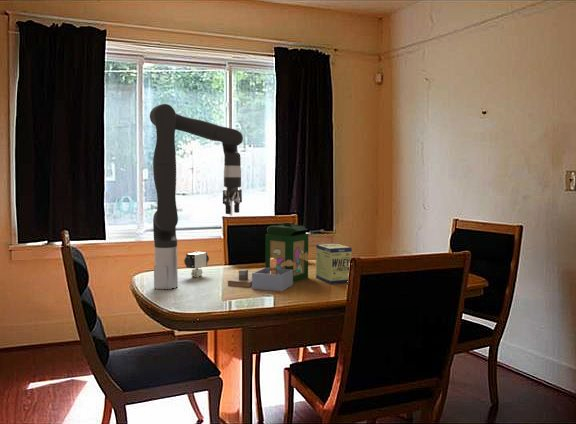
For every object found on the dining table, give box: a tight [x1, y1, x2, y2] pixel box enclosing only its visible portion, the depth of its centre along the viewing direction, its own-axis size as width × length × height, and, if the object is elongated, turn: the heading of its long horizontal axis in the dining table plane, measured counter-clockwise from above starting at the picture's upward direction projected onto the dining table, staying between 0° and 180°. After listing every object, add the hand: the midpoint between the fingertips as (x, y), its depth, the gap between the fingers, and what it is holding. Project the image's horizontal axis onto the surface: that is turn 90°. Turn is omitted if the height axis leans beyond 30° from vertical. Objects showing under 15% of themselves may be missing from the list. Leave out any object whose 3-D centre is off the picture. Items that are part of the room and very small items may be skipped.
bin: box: [251, 267, 294, 292], centre depth 237 cm, size 13×13×7 cm
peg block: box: [270, 258, 281, 275], centre depth 237 cm, size 6×6×12 cm
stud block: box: [227, 269, 252, 288], centre depth 243 cm, size 10×10×6 cm
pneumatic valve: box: [183, 250, 210, 278], centre depth 258 cm, size 6×12×12 cm, turn 146°
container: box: [264, 222, 309, 283], centre depth 254 cm, size 15×18×25 cm
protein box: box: [315, 243, 353, 285], centre depth 251 cm, size 10×16×16 cm
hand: (232, 213), depth 247 cm, fingers open, 8 cm apart
